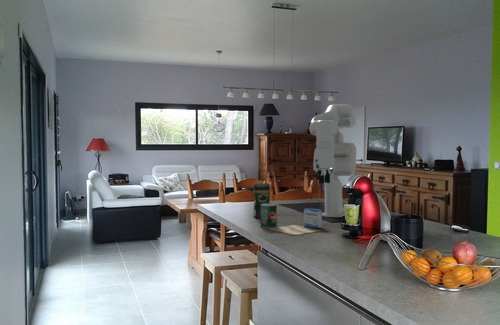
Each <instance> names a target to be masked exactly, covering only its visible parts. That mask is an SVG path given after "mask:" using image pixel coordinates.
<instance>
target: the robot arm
mask: <svg viewBox="0 0 500 325" xmlns="http://www.w3.org/2000/svg"><path fill="white" fill-rule="evenodd" d="M356 123H357V122H356V115H355V112H354V108H353V106H352V105H351V104H350V103H335V104H330V105H329V106H327V108H326V109H325V111H324V112H322V113H320V114H317V115H315V116H314V117H313V118H312V119H311V121H310V124H309V132H310V134H311V135H312V136H316V141H315V142H316V144H315V145H316V147H315V148H314V154H313V164H312V165H313V169H312V170H313V171H314V172H316V174H317V176H318V184H322V185H323V184H324V212H322V217H325V218H344V217H345V216H344V213H345V211H344V208H345V207H343V183H342V181H341V179H339V177H352V175H353V176H354V175H355V173H356V165H357V147H356V145H355V143H354V142H345V140H344V139H345V136H344V135H343V133H342V132H341V131H340V129H344V128H345V129H346V128H347V129H349V128H353V127H355V125H356ZM343 216H344V217H343Z"/></svg>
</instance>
